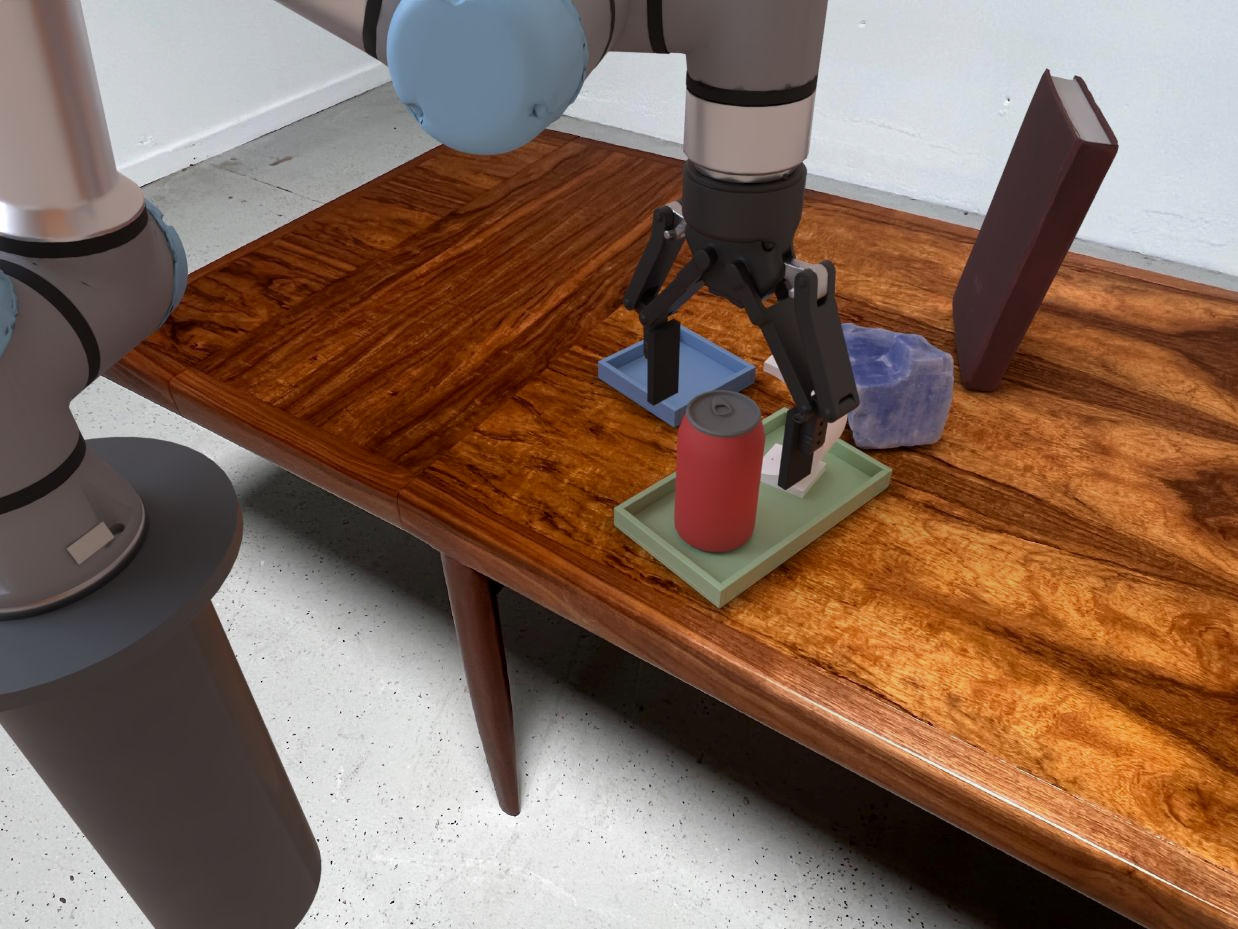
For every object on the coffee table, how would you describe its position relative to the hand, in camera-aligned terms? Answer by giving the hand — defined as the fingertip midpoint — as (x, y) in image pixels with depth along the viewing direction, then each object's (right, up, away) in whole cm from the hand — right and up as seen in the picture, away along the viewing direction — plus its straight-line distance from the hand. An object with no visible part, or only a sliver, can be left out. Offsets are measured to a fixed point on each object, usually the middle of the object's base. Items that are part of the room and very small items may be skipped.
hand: (724, 436), depth 68 cm
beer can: (0, -7, +6) cm, 10 cm away
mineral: (+17, +3, +20) cm, 26 cm away
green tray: (+4, -6, +9) cm, 11 cm away
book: (+31, +9, +27) cm, 42 cm away
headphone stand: (+7, -3, +11) cm, 14 cm away
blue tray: (-2, +6, +23) cm, 25 cm away
